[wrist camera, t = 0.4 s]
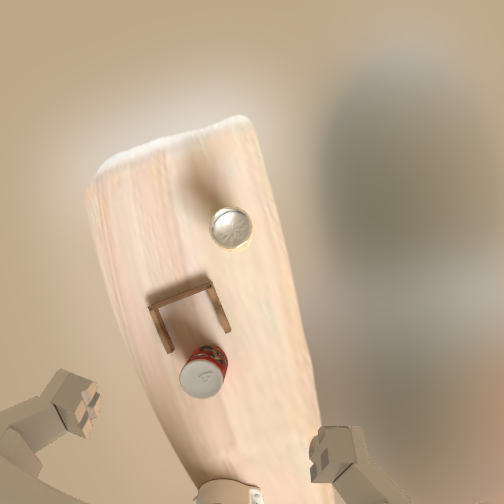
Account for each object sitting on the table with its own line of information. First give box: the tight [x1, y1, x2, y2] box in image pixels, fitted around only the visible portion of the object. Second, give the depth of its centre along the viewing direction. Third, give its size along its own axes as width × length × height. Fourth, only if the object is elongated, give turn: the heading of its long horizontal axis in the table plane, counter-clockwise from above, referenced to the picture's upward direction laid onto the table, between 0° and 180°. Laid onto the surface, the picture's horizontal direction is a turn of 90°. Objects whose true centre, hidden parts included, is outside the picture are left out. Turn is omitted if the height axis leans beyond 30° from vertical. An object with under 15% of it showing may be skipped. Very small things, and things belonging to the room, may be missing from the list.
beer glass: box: [209, 206, 254, 252], centre depth 54 cm, size 7×7×15 cm
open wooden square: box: [148, 282, 231, 354], centre depth 59 cm, size 10×14×2 cm
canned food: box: [180, 346, 228, 399], centre depth 54 cm, size 8×8×11 cm
